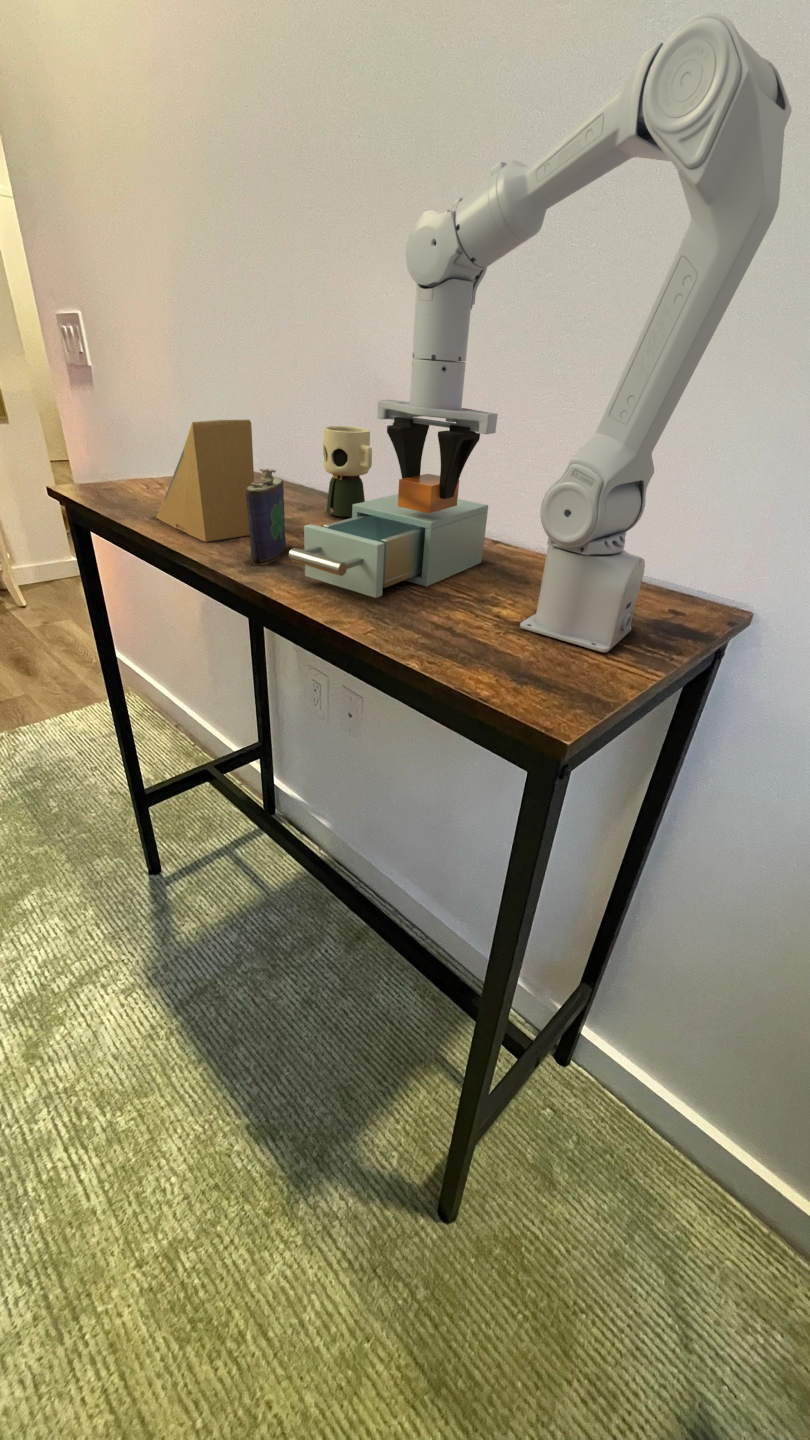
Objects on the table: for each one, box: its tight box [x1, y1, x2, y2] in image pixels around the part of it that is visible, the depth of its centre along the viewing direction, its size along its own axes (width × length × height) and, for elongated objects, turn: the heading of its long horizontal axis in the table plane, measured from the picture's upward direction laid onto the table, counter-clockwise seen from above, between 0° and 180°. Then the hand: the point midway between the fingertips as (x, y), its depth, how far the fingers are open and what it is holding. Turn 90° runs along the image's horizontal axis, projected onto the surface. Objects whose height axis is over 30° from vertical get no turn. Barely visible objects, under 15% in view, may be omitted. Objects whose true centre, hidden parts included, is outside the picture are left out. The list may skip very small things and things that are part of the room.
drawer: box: [288, 514, 426, 599], centre depth 73 cm, size 17×10×6 cm, turn 145°
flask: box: [246, 468, 287, 566], centre depth 80 cm, size 9×3×11 cm, turn 171°
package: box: [397, 473, 460, 513], centre depth 74 cm, size 4×6×3 cm
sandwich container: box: [155, 419, 255, 543], centre depth 89 cm, size 9×15×15 cm, turn 43°
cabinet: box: [352, 493, 489, 588], centre depth 81 cm, size 14×12×8 cm
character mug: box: [322, 425, 373, 518], centre depth 100 cm, size 11×7×13 cm, turn 46°
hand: (428, 493), depth 74 cm, fingers closed on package, 4 cm apart
